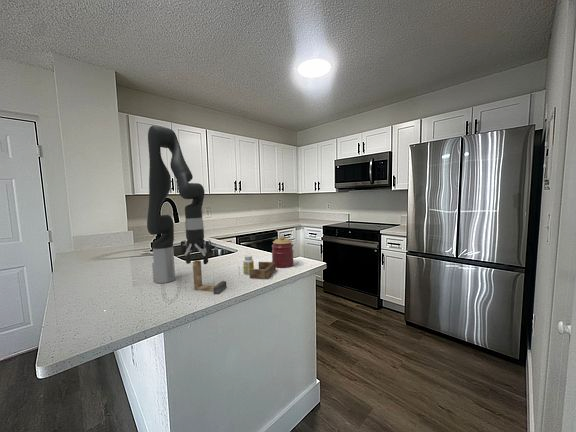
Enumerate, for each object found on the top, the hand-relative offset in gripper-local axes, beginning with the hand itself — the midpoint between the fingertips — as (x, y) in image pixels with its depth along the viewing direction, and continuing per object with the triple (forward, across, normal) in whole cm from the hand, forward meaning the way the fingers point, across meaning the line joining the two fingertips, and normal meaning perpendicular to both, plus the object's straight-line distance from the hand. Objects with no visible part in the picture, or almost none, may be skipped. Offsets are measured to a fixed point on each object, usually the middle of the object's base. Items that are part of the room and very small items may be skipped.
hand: (197, 263), depth 111 cm
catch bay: (+12, +22, +25) cm, 36 cm away
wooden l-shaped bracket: (+12, +5, 0) cm, 13 cm away
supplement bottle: (+12, +14, +25) cm, 31 cm away
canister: (+12, +28, +43) cm, 53 cm away
